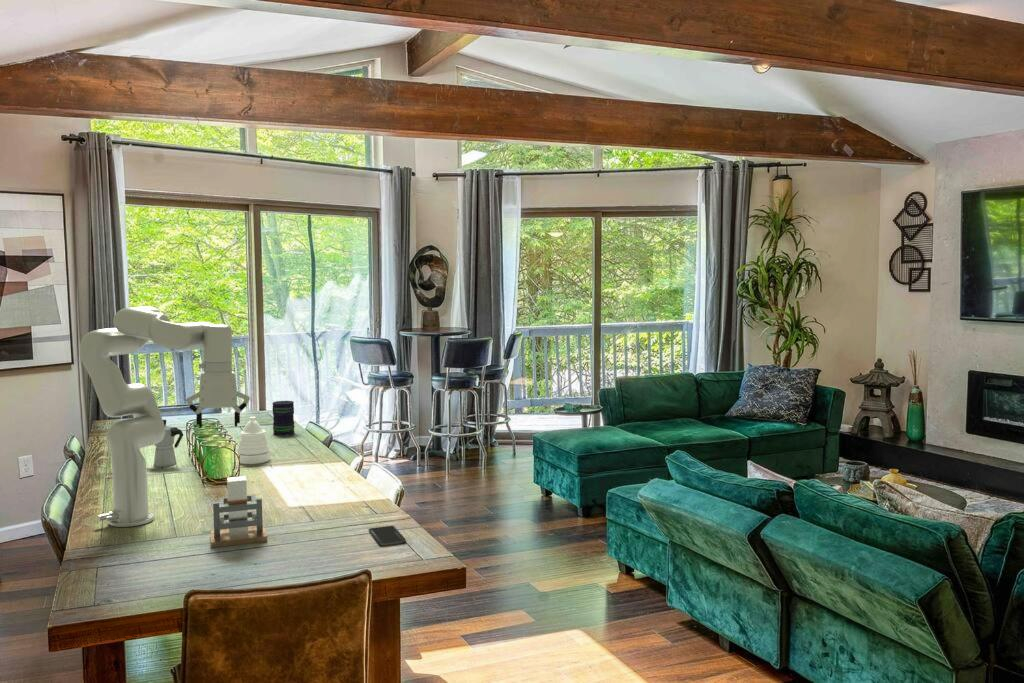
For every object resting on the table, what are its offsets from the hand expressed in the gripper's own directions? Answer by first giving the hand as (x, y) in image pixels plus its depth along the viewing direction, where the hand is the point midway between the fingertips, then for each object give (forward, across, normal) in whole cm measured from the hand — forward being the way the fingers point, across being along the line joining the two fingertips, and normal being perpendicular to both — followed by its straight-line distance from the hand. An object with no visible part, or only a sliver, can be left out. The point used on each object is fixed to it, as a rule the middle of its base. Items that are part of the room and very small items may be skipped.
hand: (218, 426), depth 235 cm
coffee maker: (+35, -19, +99) cm, 107 cm away
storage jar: (+35, +30, +147) cm, 154 cm away
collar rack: (+32, +5, -6) cm, 33 cm away
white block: (+30, +5, -6) cm, 31 cm away
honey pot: (+34, +14, +95) cm, 102 cm away
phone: (+31, +46, -19) cm, 58 cm away
